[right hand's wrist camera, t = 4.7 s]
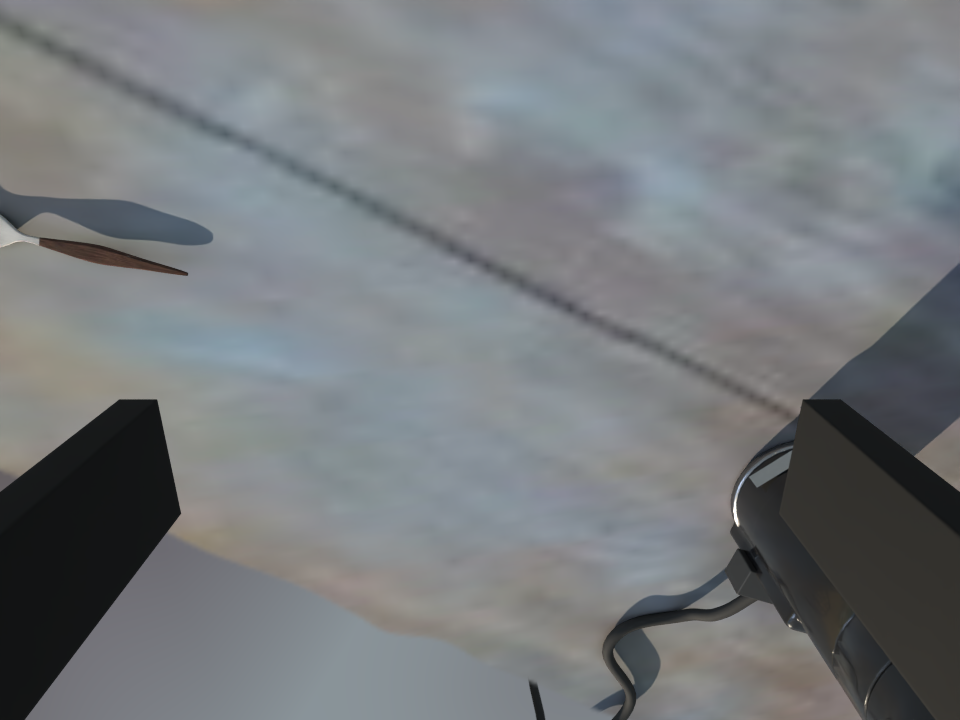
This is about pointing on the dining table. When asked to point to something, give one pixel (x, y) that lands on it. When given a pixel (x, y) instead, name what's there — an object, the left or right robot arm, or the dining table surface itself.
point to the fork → (83, 250)
